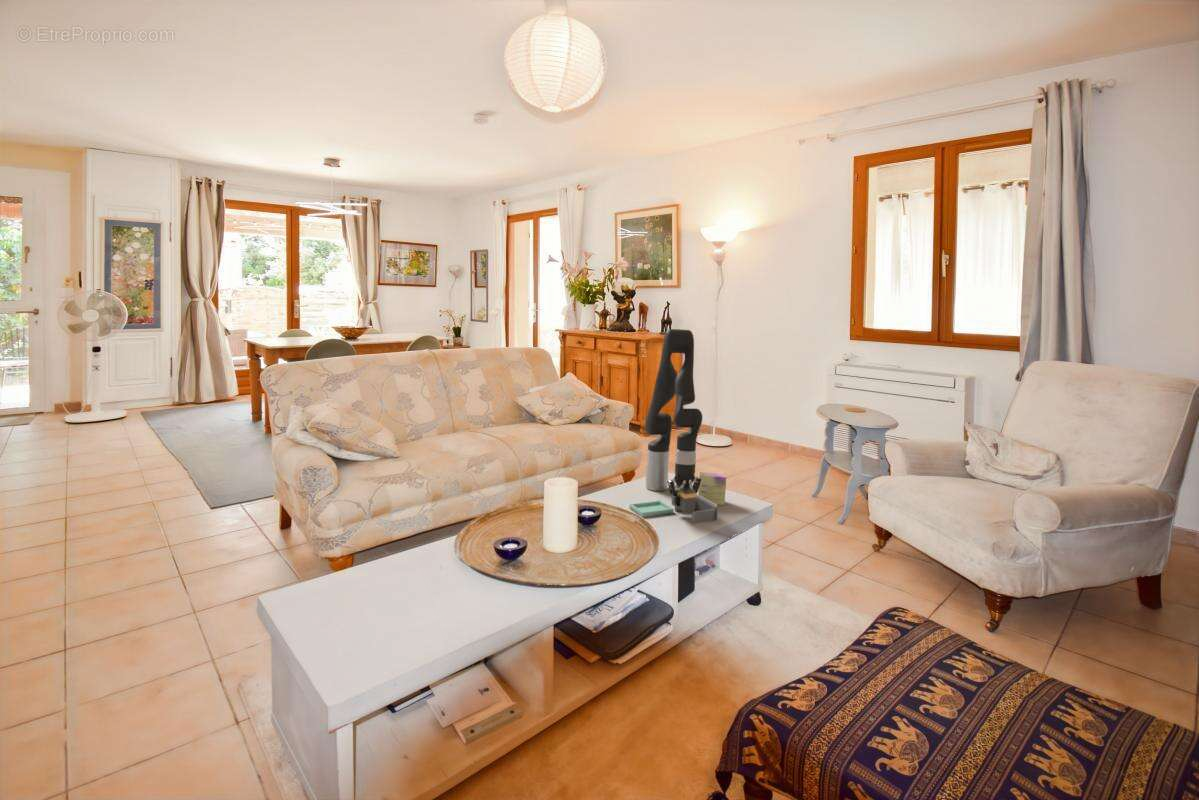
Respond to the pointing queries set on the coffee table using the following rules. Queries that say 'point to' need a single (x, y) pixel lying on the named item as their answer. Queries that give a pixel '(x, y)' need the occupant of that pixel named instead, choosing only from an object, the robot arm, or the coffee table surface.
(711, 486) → the box
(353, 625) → the coffee table surface
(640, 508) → the tray
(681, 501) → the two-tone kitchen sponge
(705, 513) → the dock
